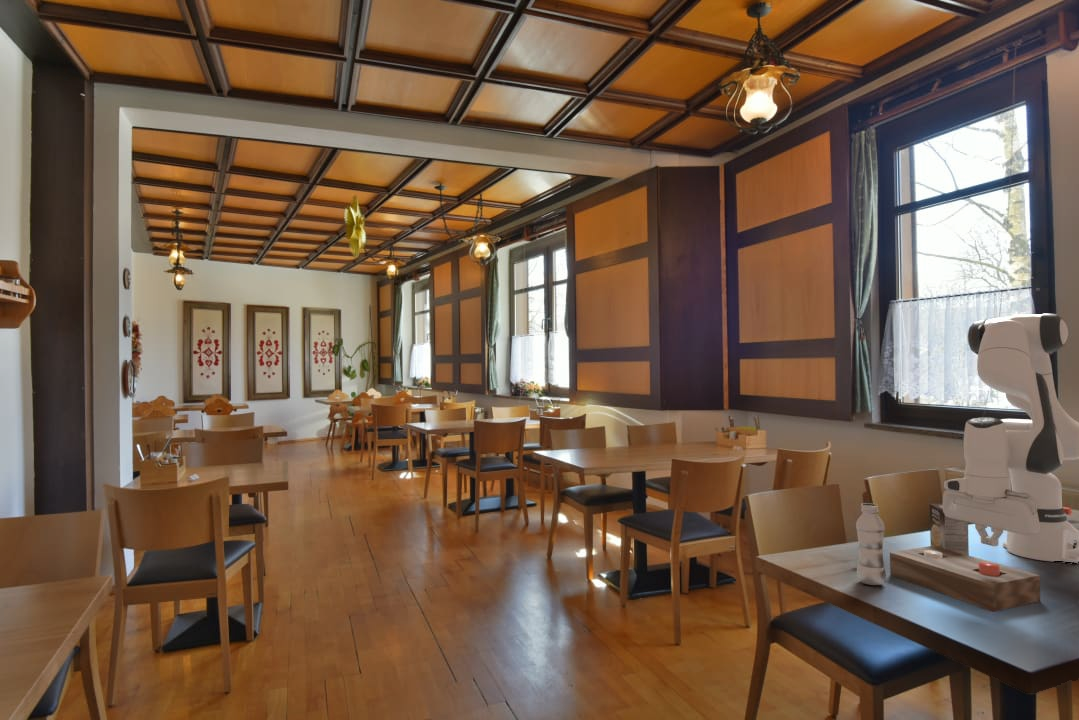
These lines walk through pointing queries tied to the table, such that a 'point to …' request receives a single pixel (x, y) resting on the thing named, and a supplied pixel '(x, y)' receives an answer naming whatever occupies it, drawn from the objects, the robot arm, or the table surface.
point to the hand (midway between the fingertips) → (989, 544)
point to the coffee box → (948, 531)
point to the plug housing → (966, 578)
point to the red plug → (989, 568)
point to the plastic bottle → (870, 546)
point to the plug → (933, 554)
